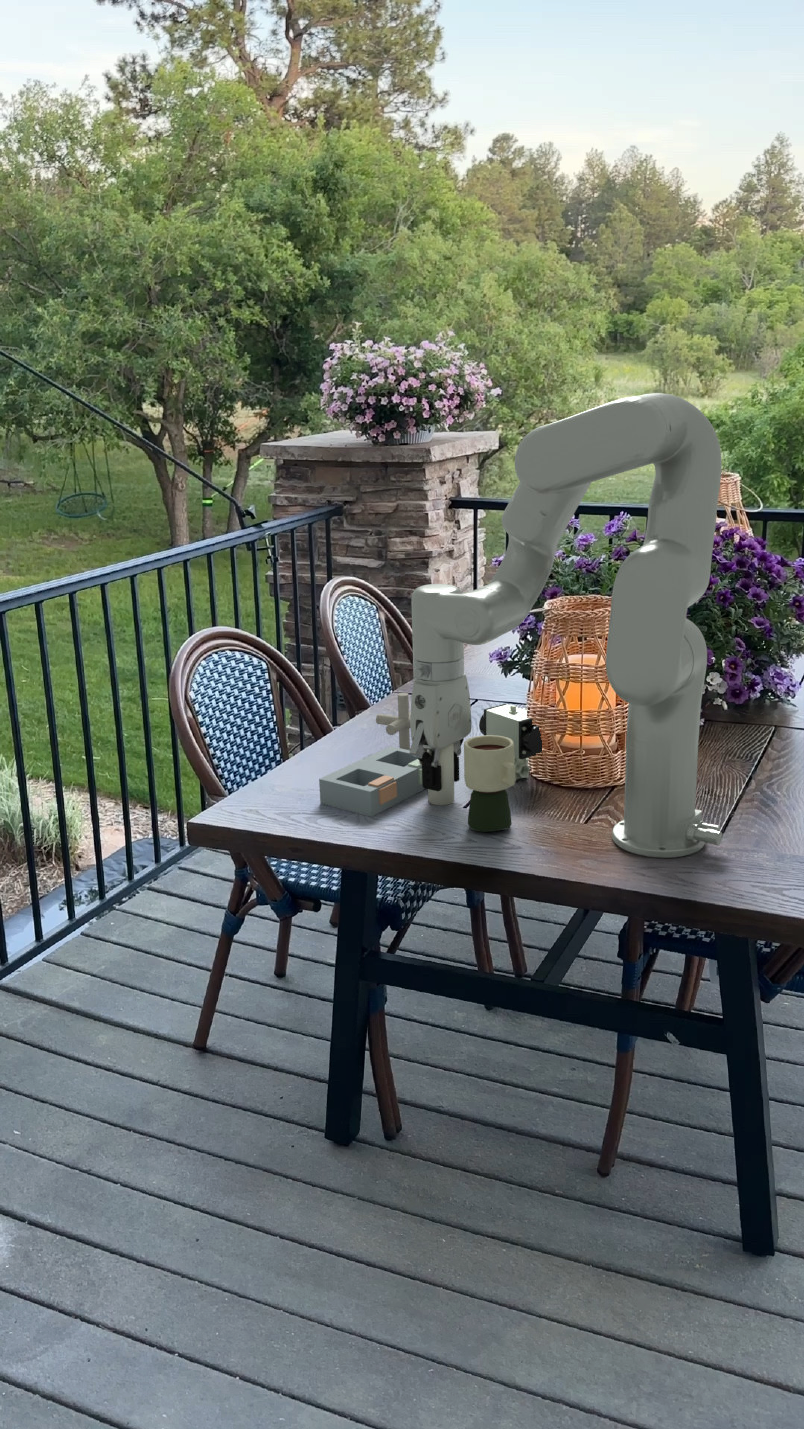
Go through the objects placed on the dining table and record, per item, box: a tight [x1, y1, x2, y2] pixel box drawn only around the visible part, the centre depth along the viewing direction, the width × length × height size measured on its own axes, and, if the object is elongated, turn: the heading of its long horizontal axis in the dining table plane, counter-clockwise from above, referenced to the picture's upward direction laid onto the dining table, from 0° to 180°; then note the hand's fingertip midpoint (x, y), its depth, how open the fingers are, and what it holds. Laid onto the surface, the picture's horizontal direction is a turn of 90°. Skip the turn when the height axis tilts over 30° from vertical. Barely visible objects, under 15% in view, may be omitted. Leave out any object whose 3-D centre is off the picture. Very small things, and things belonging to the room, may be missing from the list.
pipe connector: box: [375, 692, 411, 750], centre depth 200 cm, size 10×10×10 cm
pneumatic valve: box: [478, 703, 542, 782], centre depth 186 cm, size 6×12×12 cm, turn 37°
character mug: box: [463, 735, 516, 833], centre depth 166 cm, size 11×7×13 cm, turn 35°
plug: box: [427, 744, 455, 806], centre depth 177 cm, size 4×4×11 cm
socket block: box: [318, 745, 426, 818], centre depth 182 cm, size 10×18×4 cm, turn 143°
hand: (440, 783), depth 178 cm, fingers closed on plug, 4 cm apart
